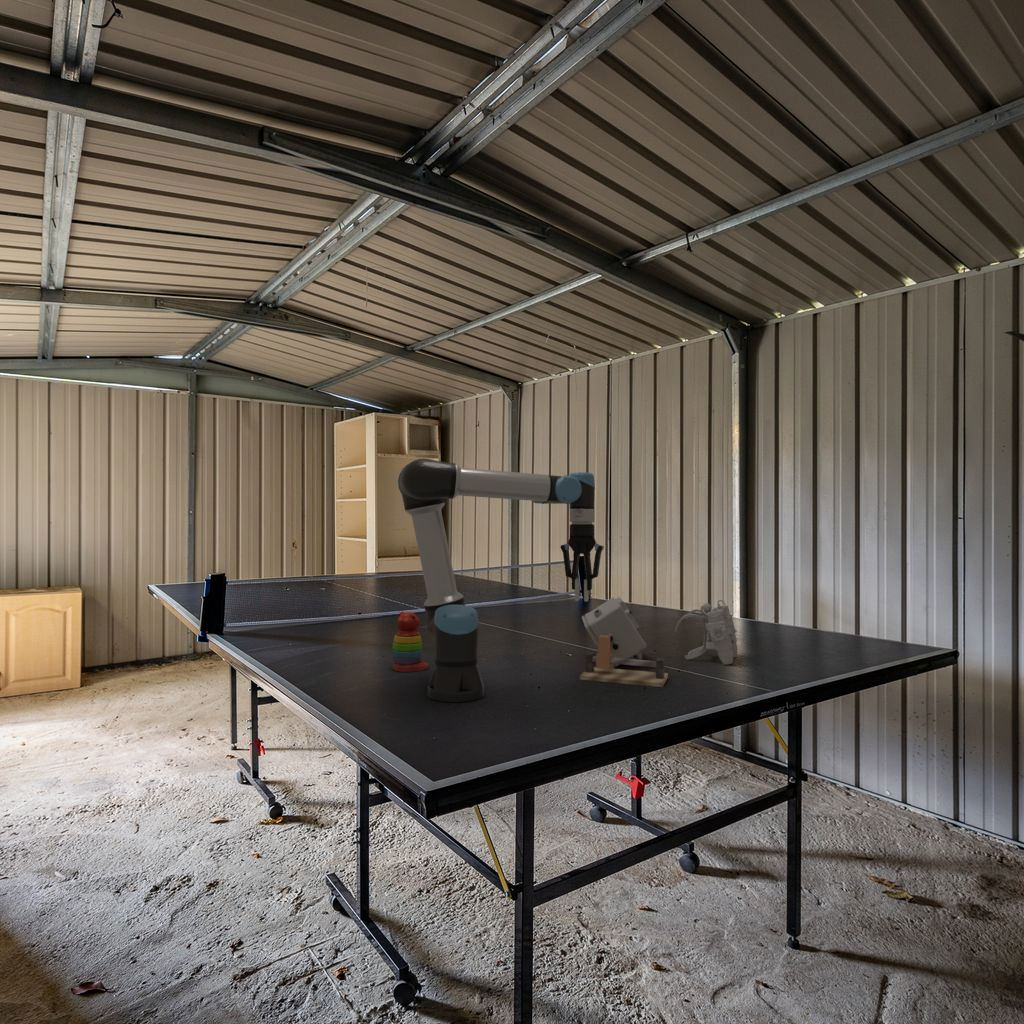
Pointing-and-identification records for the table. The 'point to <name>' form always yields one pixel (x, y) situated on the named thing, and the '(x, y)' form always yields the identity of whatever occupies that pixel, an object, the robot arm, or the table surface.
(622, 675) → the rail board
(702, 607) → the twin engine backpack
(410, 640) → the red rounded piece
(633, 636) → the junction box
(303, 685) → the table surface
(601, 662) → the brown stepped block
